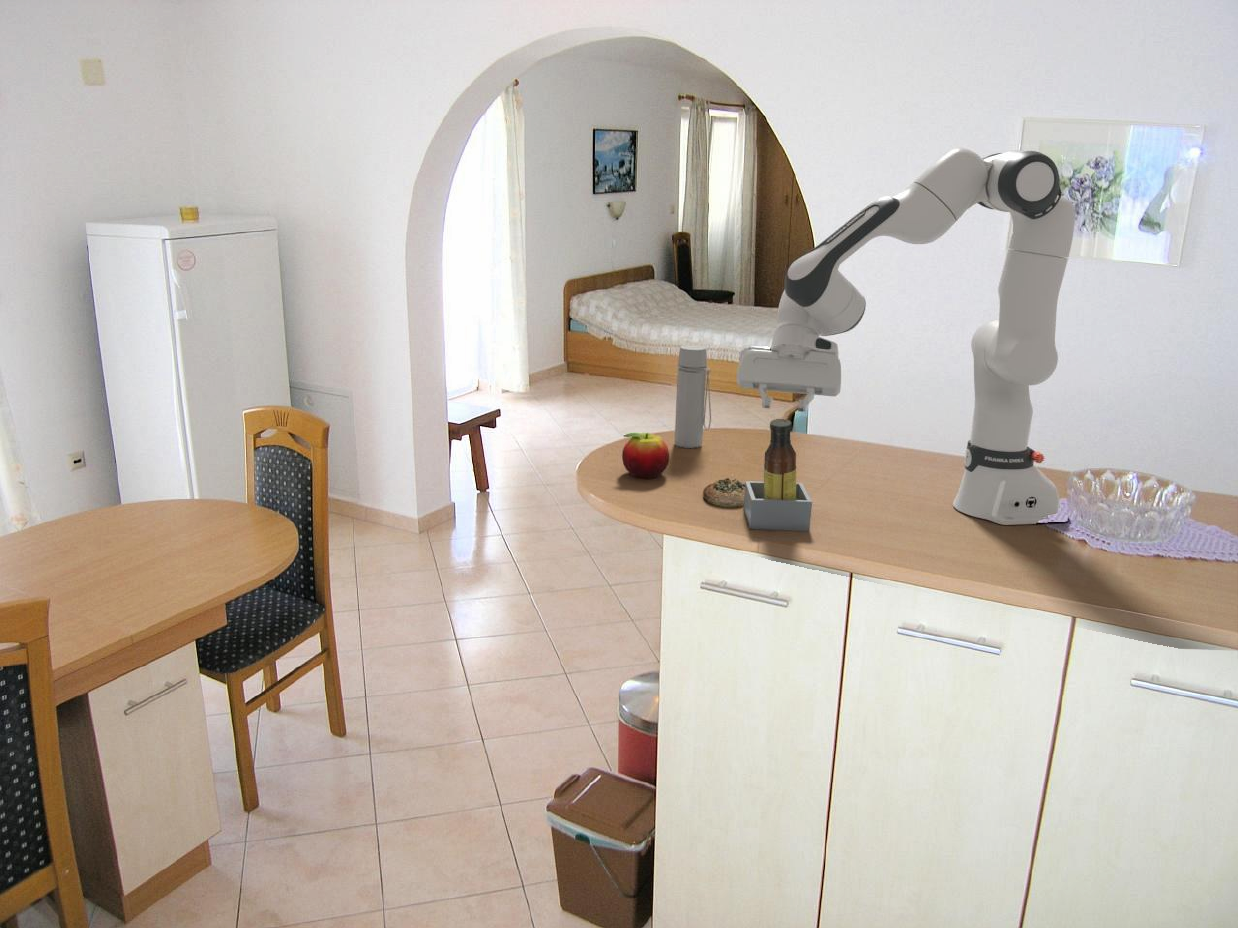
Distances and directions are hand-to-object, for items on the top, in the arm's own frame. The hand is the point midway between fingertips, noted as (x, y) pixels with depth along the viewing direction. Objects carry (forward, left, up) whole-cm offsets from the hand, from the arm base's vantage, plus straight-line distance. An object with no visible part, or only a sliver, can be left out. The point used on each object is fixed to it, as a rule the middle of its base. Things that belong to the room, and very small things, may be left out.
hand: (783, 408), depth 183 cm
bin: (0, -1, -23) cm, 23 cm away
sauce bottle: (-1, 0, -22) cm, 22 cm away
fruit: (+26, -28, -23) cm, 44 cm away
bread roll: (+8, -13, -24) cm, 28 cm away
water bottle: (+14, -53, -23) cm, 59 cm away
